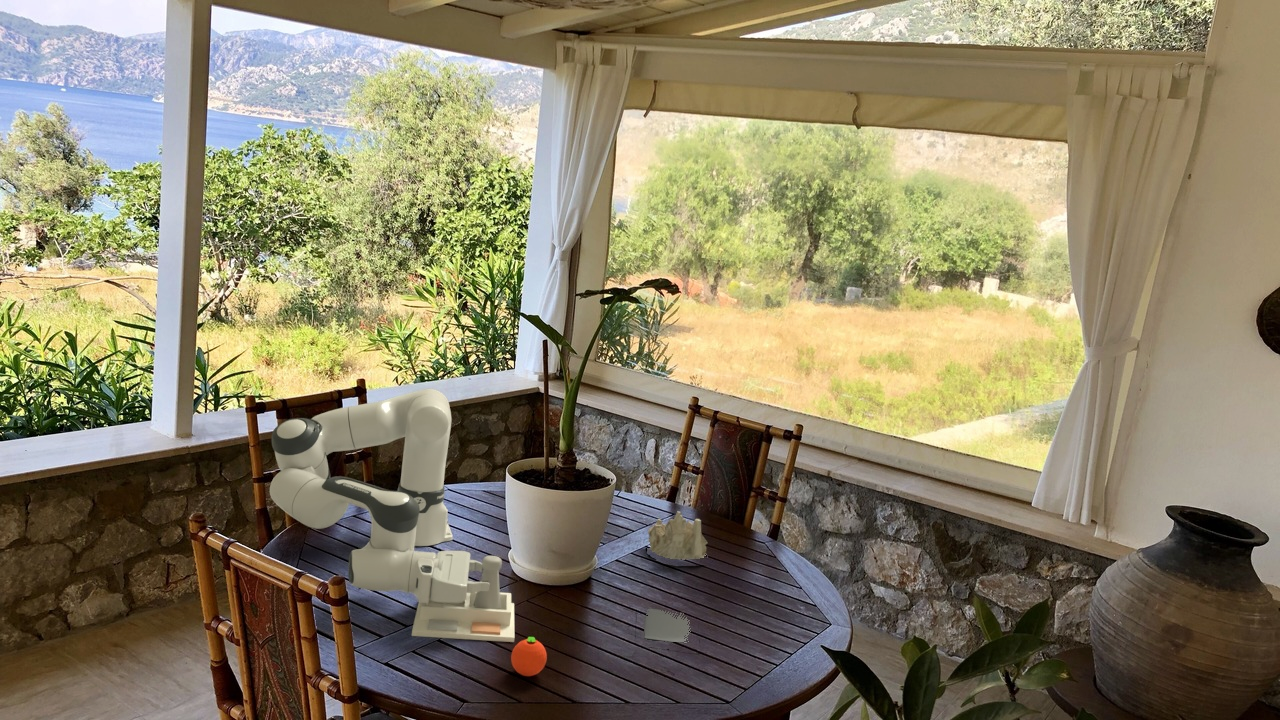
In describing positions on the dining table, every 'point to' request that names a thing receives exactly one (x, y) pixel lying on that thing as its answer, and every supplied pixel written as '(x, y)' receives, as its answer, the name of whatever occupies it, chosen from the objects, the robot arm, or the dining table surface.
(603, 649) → the dining table surface
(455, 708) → the dining table surface
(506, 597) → the divided organizer tray
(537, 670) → the clementine
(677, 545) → the sand castle
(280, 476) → the robot arm
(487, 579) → the salt shaker
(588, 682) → the dining table surface
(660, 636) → the wallet
